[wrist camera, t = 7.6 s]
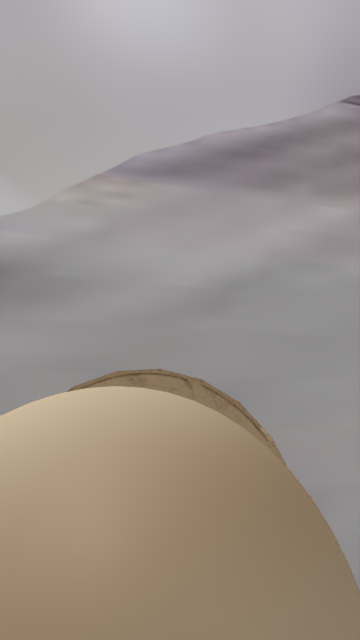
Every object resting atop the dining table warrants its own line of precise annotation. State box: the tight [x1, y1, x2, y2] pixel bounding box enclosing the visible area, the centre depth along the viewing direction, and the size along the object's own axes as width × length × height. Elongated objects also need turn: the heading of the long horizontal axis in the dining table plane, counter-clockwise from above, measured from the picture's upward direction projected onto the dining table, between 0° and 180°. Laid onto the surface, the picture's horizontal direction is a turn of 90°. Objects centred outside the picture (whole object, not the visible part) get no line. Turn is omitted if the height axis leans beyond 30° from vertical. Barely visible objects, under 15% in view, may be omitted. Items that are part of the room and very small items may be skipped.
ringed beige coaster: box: [67, 369, 287, 467], centre depth 16 cm, size 16×16×3 cm
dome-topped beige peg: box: [0, 386, 360, 640], centre depth 8 cm, size 5×5×12 cm
